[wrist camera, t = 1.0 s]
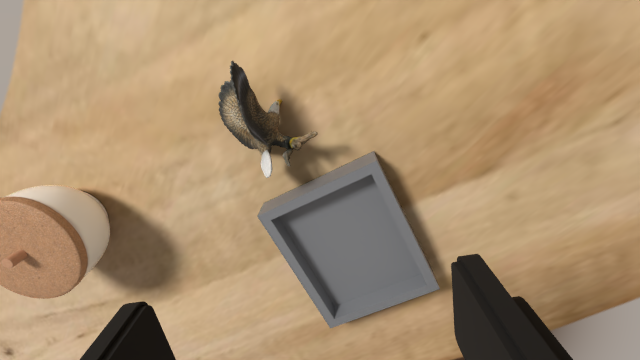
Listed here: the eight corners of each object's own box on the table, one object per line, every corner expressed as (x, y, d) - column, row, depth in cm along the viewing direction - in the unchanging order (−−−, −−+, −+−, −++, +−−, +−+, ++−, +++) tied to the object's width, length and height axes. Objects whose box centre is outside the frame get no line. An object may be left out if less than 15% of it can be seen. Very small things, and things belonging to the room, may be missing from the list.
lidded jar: (58, 258, 41) (-18, 315, 32) (18, 175, 37) (-80, 215, 29) (141, 250, 40) (86, 307, 31) (109, 165, 36) (35, 203, 28)
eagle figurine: (329, 103, 31) (245, 40, 28) (308, 161, 27) (207, 95, 24) (289, 139, 37) (215, 90, 34) (267, 192, 33) (180, 142, 30)
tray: (373, 151, 34) (376, 160, 31) (432, 271, 39) (439, 289, 36) (263, 203, 37) (257, 216, 34) (331, 309, 42) (330, 328, 39)
